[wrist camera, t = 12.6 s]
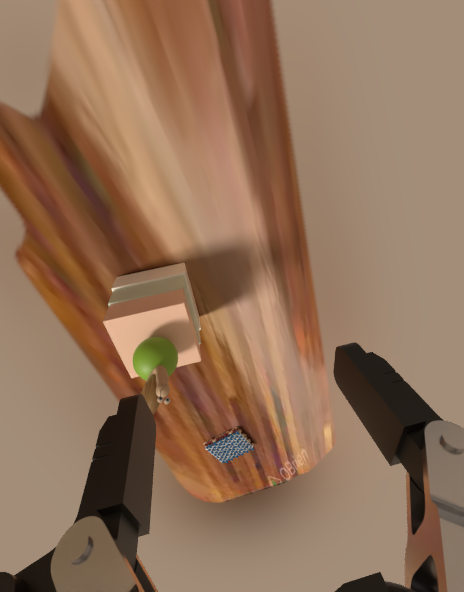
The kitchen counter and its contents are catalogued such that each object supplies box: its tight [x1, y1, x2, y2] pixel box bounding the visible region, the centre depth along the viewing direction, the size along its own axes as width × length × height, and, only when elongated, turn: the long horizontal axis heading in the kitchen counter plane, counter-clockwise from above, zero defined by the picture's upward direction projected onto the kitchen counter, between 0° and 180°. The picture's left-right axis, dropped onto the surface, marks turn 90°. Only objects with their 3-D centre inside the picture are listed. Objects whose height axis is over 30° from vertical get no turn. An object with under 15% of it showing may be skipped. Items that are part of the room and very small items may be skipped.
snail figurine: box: [133, 337, 178, 414], centre depth 30 cm, size 5×6×12 cm
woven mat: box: [203, 427, 254, 463], centre depth 69 cm, size 10×11×2 cm
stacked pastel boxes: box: [103, 262, 201, 378], centre depth 40 cm, size 11×11×12 cm
